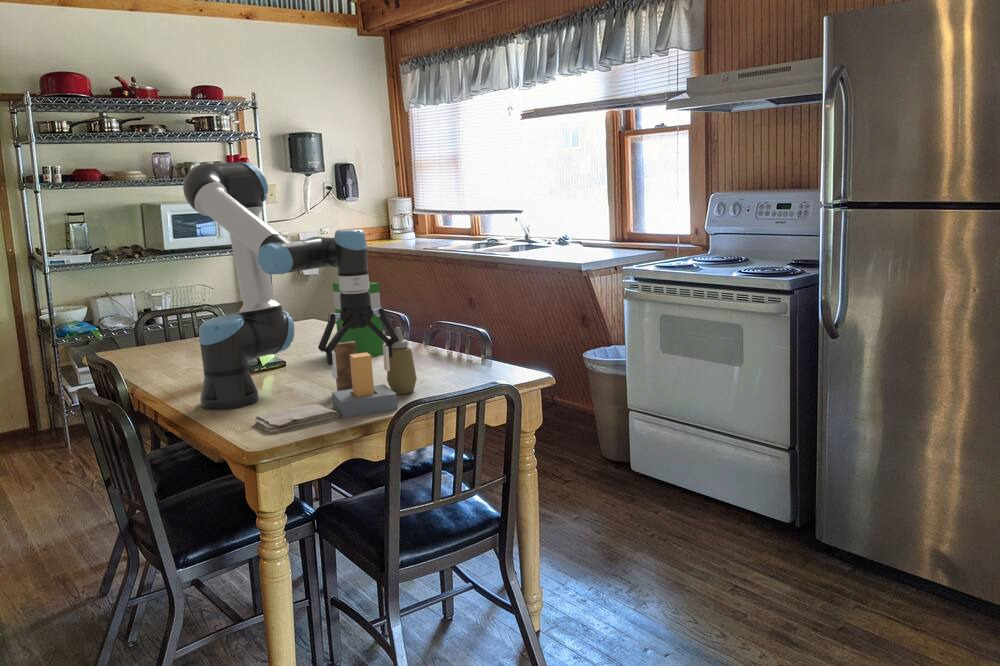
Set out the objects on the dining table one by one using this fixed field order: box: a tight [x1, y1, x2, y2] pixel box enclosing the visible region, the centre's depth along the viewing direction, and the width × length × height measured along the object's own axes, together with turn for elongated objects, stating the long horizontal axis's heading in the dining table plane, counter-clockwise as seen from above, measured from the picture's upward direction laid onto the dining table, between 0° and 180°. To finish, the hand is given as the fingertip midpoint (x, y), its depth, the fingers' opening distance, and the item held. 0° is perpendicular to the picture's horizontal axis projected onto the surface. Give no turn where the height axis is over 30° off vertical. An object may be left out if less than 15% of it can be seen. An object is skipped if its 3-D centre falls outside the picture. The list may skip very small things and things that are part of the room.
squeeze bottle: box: [386, 326, 417, 395], centre depth 229 cm, size 8×8×18 cm
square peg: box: [350, 352, 375, 397], centre depth 215 cm, size 4×4×14 cm
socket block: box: [331, 383, 399, 419], centre depth 216 cm, size 14×12×4 cm
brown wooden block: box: [333, 341, 357, 391], centre depth 233 cm, size 6×2×14 cm, turn 112°
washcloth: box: [253, 403, 340, 434], centre depth 208 cm, size 12×18×3 cm, turn 126°
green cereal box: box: [332, 281, 385, 358], centre depth 285 cm, size 18×7×24 cm, turn 40°
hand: (361, 373), depth 215 cm, fingers open, 13 cm apart
